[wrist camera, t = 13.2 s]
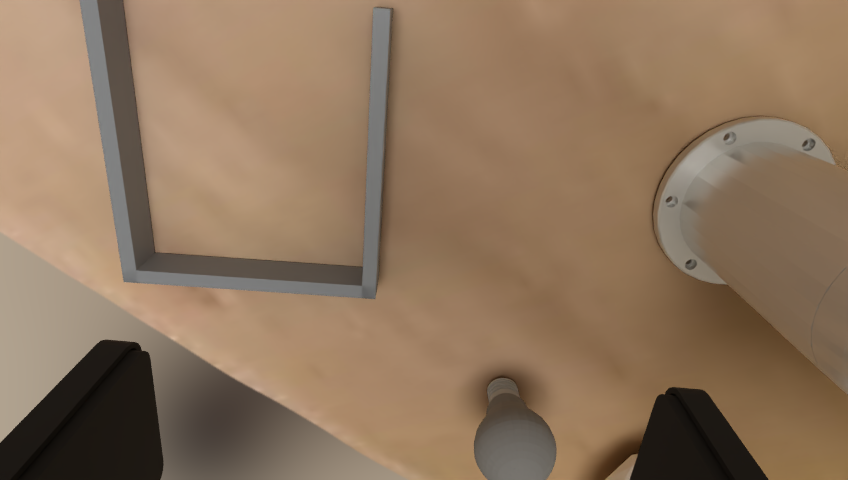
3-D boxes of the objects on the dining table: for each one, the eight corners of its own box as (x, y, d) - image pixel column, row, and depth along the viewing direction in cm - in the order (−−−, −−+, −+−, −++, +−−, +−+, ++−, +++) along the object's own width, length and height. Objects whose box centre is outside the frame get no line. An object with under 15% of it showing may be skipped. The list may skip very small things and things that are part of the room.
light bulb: (452, 393, 47) (460, 488, 38) (496, 345, 45) (515, 433, 36) (506, 425, 48) (526, 523, 39) (551, 380, 47) (583, 473, 37)
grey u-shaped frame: (392, 8, 35) (390, 8, 32) (378, 279, 43) (375, 298, 40) (104, -17, 34) (76, -19, 31) (143, 263, 42) (123, 281, 39)
